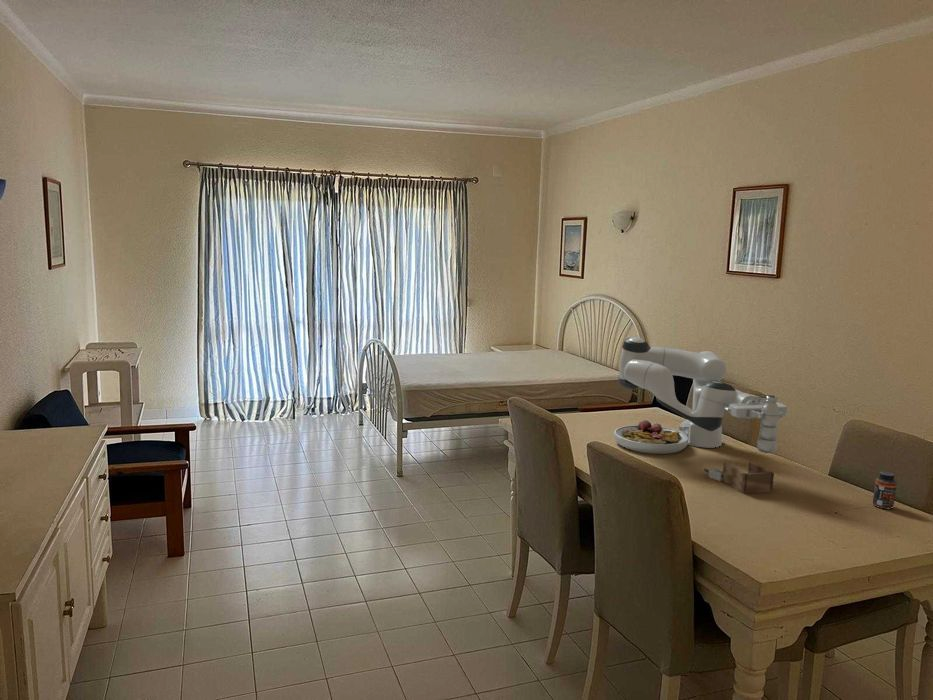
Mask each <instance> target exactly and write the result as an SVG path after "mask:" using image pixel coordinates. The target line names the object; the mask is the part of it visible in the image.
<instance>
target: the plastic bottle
mask: <svg viewBox="0 0 933 700" xmlns="http://www.w3.org/2000/svg"><path fill="white" fill-rule="evenodd" d="M765 397H766V400H765V401H766V403H765V404H764V405H763V406H762V408H761V410H760V412H761V413H763V414H764V418H761V419H760V426H759V427H760V428H759V434H758V438H757V441H756V449H757V451H758V452H761V453H763V454H764V453H765V454H774V453H776V451H777V449H778V442H777V441H778V440H777V431H778V430H777V429H778V425H779V420H780V418H779V417H780V409H779V407H778V405H777V404H776V402H778V396H776V395H773V394H772V395H771V394H767V395H766V396H765Z"/></svg>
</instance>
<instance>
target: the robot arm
mask: <svg viewBox="0 0 933 700" xmlns="http://www.w3.org/2000/svg"><path fill="white" fill-rule="evenodd" d="M726 366H727V365H726V362H725V361H724V360H723V358H721V357H720V356H718V354H716V353H715V352H713V351H710V350H704V351H700V352H695V351H689V350H685V349H677V348H668V347H661V346H650V345H649V342H647V340H646V339H645V338H644V339H643V338H642V337H639V336H630V337H627V338H626V339H624V341H623V344H622V349H621V353H620V357H619V367H618V368H619V372H618V384H619V385H620V386H621V387H622V388H624V389H628V390H638V389H640V388H641V389H643V390H647V391H649V392H650V393H652V394H653V395H654V397H656V401H657V402H658V404H660V405H662V406H663V407H664V408H666V409H667V410H670V411H672V412H673V413H675V414H677V415H678V416H681V417H682V418H684V419H685V420H683V421H682V422H681V423H680V425H679V428H678V429H679V430H678V431H680V432H682V433H684V434H685V435H687V436H688V443H687V445H686V446H693V447H696V448H697V447H698V448H707V449H708V448H709V449H713V448H715V447H716V448H719V446H720V447H721V446H722V443H723V444H725V441H724V439H723V427H722V426H723V425H722V424H723V418H724V417H723V416H724V414H725V411H727V412H728V414H729V415H730V416H732V417H733V418H737V419H745V420H752V419H755V418H756V419H760V420H761V418H764V414H763V413H761V412H760V410H761V408H762V406H763V405H764V404H765V403H766V401H765V400H766V396H759V395H754V394H750V393H748V392H743V391H741V390H738V389H736V388H735V387H734V386H732V385H731V384H729V383H725V382H723V381H721V380H722V379H724V377H725V376H726V372H727V367H726ZM674 376H676V377H677V376H679V377H683V378H687V379H692V382H693V383H692V384H693V386H692V387H693V393H692V395H693V396H692V406H691V407H692V408H690V407H688V406H687V405H685V404H683V403H681V402H680V401H679V400H678V398H677V396H676V392H675V380H674ZM776 404H777V405H778V407H779V409H780V417H779V419H780V418H782V419H783V418H784V417H786V416H787V414H788V406H787V405H786V404H783V403H781V402H779V401H777V402H776Z"/></svg>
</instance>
